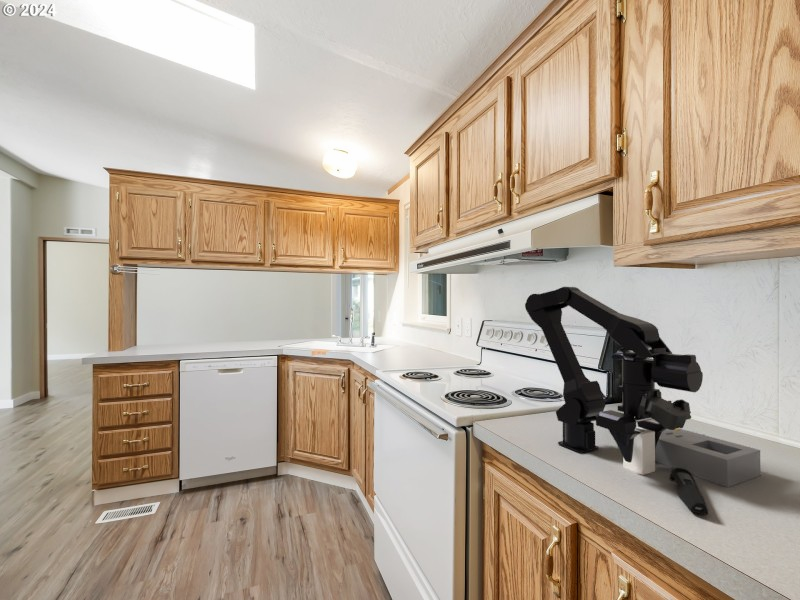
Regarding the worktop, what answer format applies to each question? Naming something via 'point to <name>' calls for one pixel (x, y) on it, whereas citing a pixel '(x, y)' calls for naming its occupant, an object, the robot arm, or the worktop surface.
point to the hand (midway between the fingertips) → (638, 459)
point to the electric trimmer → (689, 491)
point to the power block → (708, 457)
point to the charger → (642, 452)
